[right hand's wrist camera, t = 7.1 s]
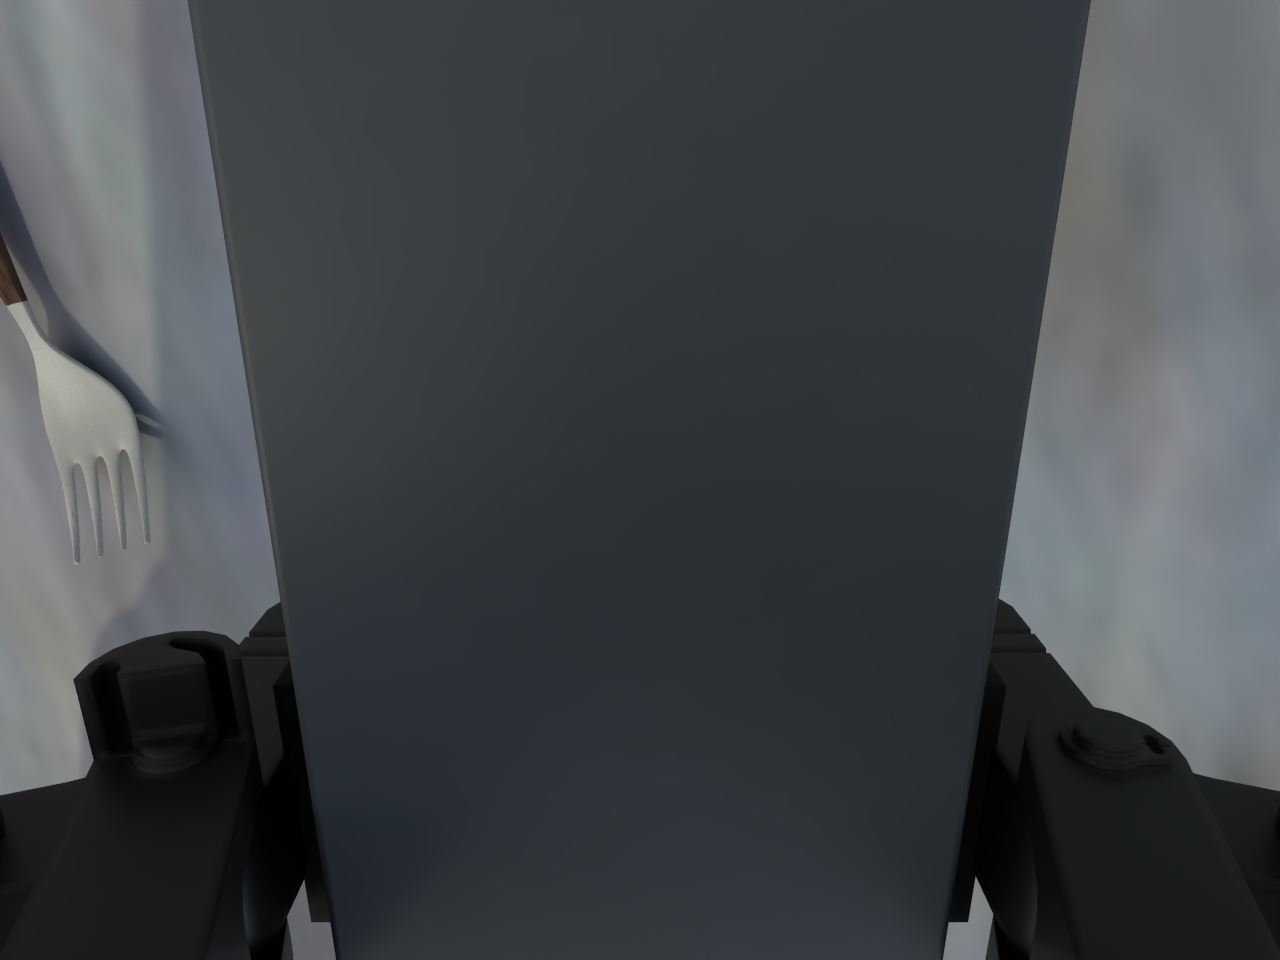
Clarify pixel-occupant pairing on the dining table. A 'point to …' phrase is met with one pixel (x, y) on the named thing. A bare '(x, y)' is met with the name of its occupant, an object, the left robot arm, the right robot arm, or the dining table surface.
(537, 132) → the bar
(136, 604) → the dining table surface
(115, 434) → the fork
